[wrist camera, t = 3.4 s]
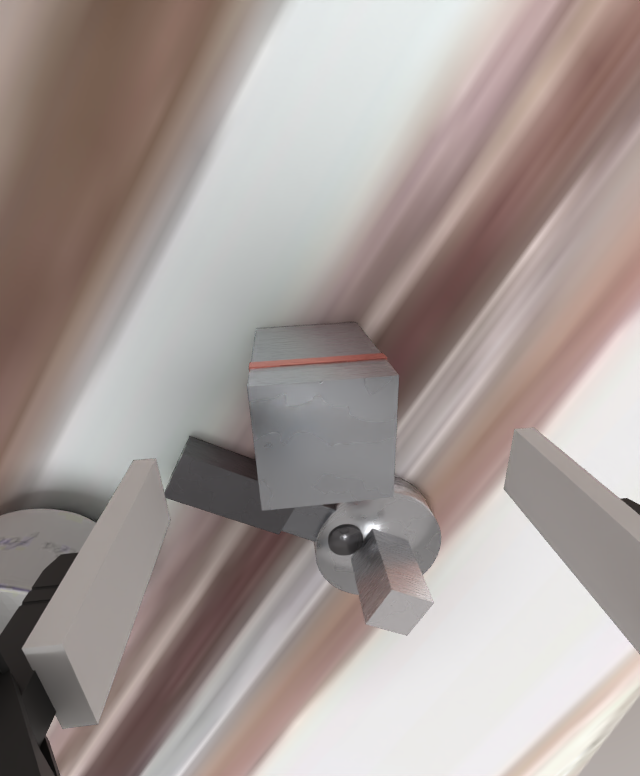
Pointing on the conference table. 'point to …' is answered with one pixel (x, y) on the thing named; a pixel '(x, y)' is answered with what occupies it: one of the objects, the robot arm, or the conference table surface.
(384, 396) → the red-striped grey block
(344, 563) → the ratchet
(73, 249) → the conference table surface
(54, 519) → the teacup
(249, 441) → the conference table surface
